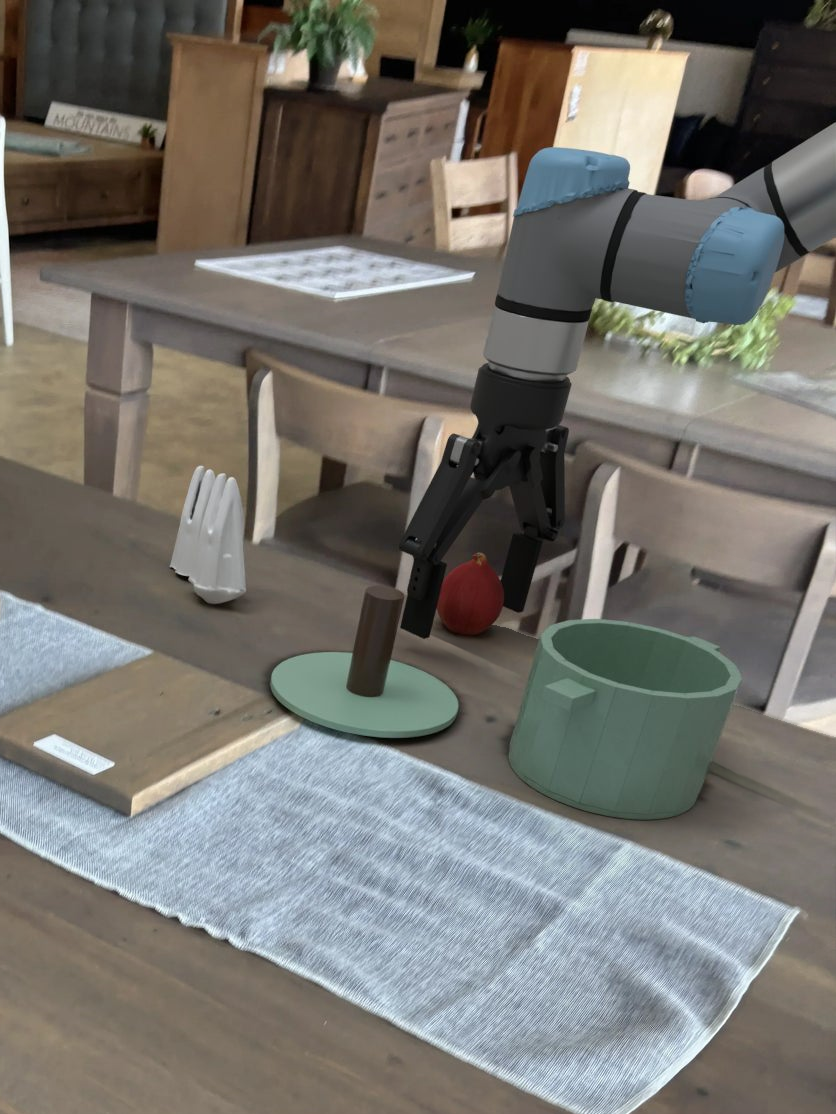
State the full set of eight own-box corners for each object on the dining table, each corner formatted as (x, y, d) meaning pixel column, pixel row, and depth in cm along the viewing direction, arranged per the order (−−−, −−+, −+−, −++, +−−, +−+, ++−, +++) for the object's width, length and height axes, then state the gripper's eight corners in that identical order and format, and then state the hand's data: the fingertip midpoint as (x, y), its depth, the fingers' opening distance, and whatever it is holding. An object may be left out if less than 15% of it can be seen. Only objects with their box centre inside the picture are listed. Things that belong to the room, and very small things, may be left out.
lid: (493, 719, 113) (522, 609, 108) (370, 761, 105) (396, 644, 99) (354, 652, 122) (375, 548, 117) (230, 687, 114) (247, 575, 108)
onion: (437, 622, 130) (458, 536, 126) (498, 637, 128) (521, 551, 124) (420, 641, 126) (441, 553, 121) (483, 657, 124) (506, 568, 120)
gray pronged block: (244, 613, 127) (263, 489, 121) (200, 613, 126) (217, 488, 120) (209, 566, 137) (225, 449, 131) (167, 566, 136) (181, 448, 130)
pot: (750, 782, 108) (795, 665, 103) (608, 848, 97) (651, 722, 92) (595, 712, 116) (630, 601, 111) (448, 766, 105) (479, 645, 100)
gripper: (576, 349, 123) (512, 584, 136) (391, 367, 109) (338, 628, 121) (650, 370, 119) (578, 611, 131) (468, 392, 105) (405, 660, 117)
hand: (463, 620), depth 126 cm, fingers open, 13 cm apart
